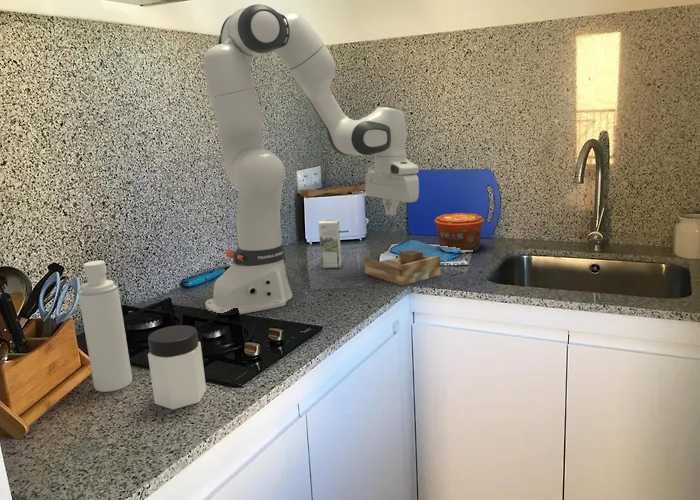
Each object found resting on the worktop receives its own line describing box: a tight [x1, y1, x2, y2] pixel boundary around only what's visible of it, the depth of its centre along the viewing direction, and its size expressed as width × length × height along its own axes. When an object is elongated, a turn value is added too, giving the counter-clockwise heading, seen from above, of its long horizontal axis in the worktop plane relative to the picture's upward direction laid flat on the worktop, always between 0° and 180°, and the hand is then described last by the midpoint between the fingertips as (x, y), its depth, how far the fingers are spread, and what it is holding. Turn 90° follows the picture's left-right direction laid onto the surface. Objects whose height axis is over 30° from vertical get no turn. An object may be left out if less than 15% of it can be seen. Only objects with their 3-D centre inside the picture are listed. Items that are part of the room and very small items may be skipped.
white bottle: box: [77, 259, 133, 393], centre depth 109 cm, size 7×7×25 cm
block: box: [400, 249, 424, 265], centre depth 169 cm, size 4×4×4 cm
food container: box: [433, 212, 485, 253], centre depth 197 cm, size 16×16×11 cm
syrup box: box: [318, 218, 342, 269], centre depth 184 cm, size 6×6×14 cm
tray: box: [363, 249, 442, 286], centre depth 172 cm, size 14×17×6 cm
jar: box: [147, 324, 207, 411], centre depth 104 cm, size 9×8×12 cm
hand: (390, 214), depth 171 cm, fingers closed
